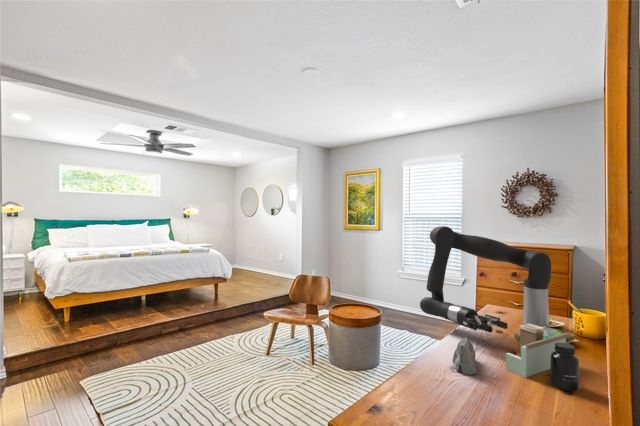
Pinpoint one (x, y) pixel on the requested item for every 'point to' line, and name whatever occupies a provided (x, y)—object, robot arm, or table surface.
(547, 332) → the puzzle game
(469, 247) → the robot arm
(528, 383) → the table surface
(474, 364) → the mineral rock
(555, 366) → the supplement bottle
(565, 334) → the mint green shelf
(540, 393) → the table surface
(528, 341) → the brown wooden block
